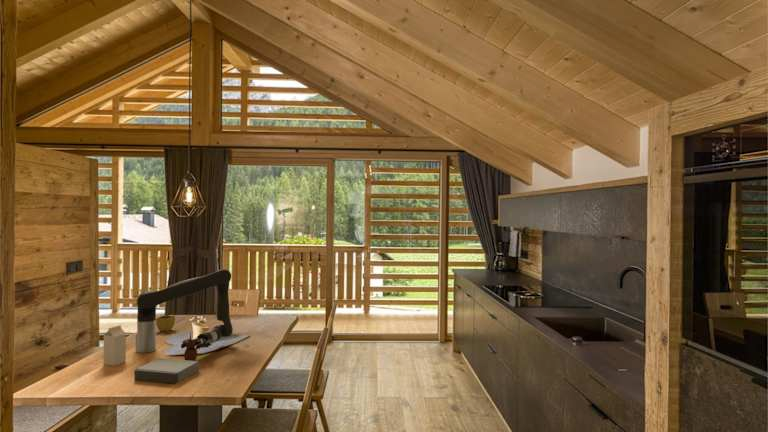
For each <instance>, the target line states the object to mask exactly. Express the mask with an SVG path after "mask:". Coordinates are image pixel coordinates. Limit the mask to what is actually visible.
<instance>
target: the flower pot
mask: <svg viewBox="0 0 768 432" xmlns="http://www.w3.org/2000/svg"><path fill="white" fill-rule="evenodd" d="M175 321H176V315H165V314H163V315H162V316H159V317H156V329H158V331H159V332H165V333H167V332H169V331H172V330H173V328H174V326H175V324H176V322H175Z"/></svg>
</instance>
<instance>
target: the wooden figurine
mask: <svg viewBox="0 0 768 432" xmlns="http://www.w3.org/2000/svg"><path fill="white" fill-rule="evenodd" d="M189 338H190V341H187V343H186V347H185V350H184V354H183V355H184V357H183V358H184V359H183V360H189V361H197V356H198V351H197V350H198V349H196V346H195V341H191V339H192V333H191V332H190V333H189Z"/></svg>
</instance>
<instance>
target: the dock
mask: <svg viewBox="0 0 768 432" xmlns="http://www.w3.org/2000/svg"><path fill="white" fill-rule="evenodd" d="M199 363H200V361H198V360H196V361H189V360H185V359H176V358H164V357H163V358H162V357H159V358H157V359H155V360H152V361H150V362H148V363H145V364H143V365H141V366H139V367H137V368H136V369H134V370H133V371H134V373H133V375H134V376H133V377H134V380H135V381H141V382H142V381H143V382H152V381H153V382H154V383H155V382H156V383H162V382H165V384H173V385H176V384H179V383H181V382H183V381H185V380H186V379H188V378H190V377H191V376H193V375H195V374H197V373H198V372H199V371H200V368H199V367H200V365H199ZM184 379H185V380H184ZM153 382H152V383H153Z"/></svg>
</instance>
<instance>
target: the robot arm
mask: <svg viewBox="0 0 768 432" xmlns="http://www.w3.org/2000/svg"><path fill="white" fill-rule="evenodd" d="M231 280H232V273H231V271H229V270H228V269H226V268H222V269H219V270H216V271H214V272H211V273H209V274H206V275H203V276H197V277H193V278H192V277H191V278H189V279H185V280H181V281H178V282H175V283H174V284H172V285H169V286H167V287H165V288H163V289H159V290H156V291H151V290H144V291H142V292H141V293H140V294H139V295H138V296H137V299H136V304H137V317H136V318H137V319H136V320H137V322H136V325H137V326H136V329H137V330H136V334H135V352H137V353H138V354H139V353H140V354H146V353H151V352H155V351H156V349H157V348H156V347H157V346H156V345H157V344H156V343H157V342H156V341H157V340H156V339H157V335H156V334H157V330H156V329H157V325H156V318H157V314H156V313H157V306H158V305H159V306H160V305H161V304H163V303H167V302H171V301H175V300H178V299H182V298H186V297H190V296H192V295H195V294H198V293H199V292H200V293H201V292H202V291H204V290H206V289H208V288H209V289H210V288H212V287H216V291H217V292H216V293H217V295H216V296H217V299H216V319H217V321H221V322H222V323H223V324H218V325H215V326H214V327H213V328H211V329H210V330H206V331H204V332H202V333H199V334H197V336H196V338H191V341H195V348H196V350H200V349H202V348H208V347H211V346H212V345H213V343H215V342H217V341H219V340H220V339H221V338H229V337H231V336H232V334H233V324H232V321H231V317H230V299H229V287H230V282H231ZM187 341H190V337H189V338H187V339H185V340H182V343H181V344H180V348H181V349H184V348H186V343H187Z"/></svg>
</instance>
